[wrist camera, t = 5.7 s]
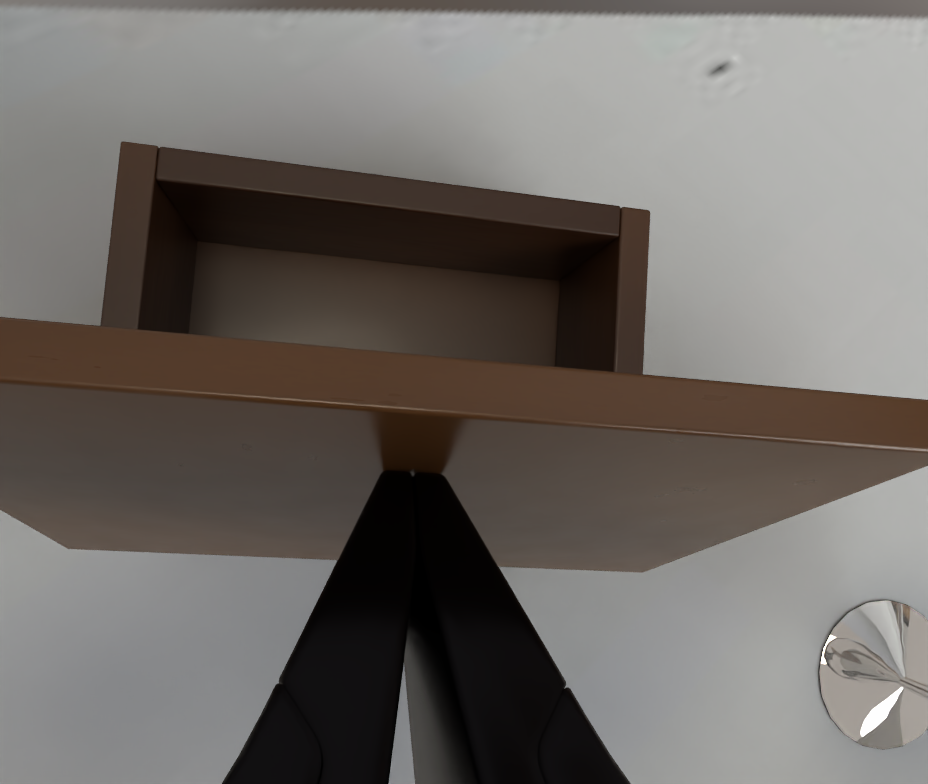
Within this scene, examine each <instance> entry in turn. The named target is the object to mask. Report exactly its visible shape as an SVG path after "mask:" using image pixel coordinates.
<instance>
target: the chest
mask: <svg viewBox="0 0 928 784" xmlns="http://www.w3.org/2000/svg"><path fill="white" fill-rule="evenodd" d="M649 226H650V211H648V210H643V209H635V208H627V207H622V208H620V207H619V206H614V205H606V204H599V203H591V202H583V201H575V200H568V199H560V198H552V197H545V196H537V195H529V194H521V193H514V192H506V191H498V190H491V189H483V188H475V187H467V186H460V185H452V184H444V183H437V182H429V181H421V180H414V179H406V178H398V177H390V176H383V175H375V174H367V173H360V172H352V171H344V170H336V169H329V168H321V167H313V166H306V165H298V164H290V163H283V162H275V161H267V160H259V159H252V158H244V157H236V156H229V155H221V154H213V153H205V152H198V151H190V150H182V149H175V148H167V147H160V148H158V147H157V146H154V145H146V144H138V143H131V142H121V147H120V156H119V165H118V174H117V183H116V192H115V201H114V210H113V219H112V228H111V237H110V246H109V255H108V264H107V273H106V282H105V291H104V300H103V309H102V318H101V326H106V327H117V328H128V329H139V330H150V331H161V332H173V333H184V334H195V335H206V336H217V337H229V338H240V339H251V340H262V341H273V342H284V343H296V344H307V345H318V346H329V347H340V348H351V349H363V350H374V351H385V352H396V353H407V354H419V355H430V356H441V357H452V358H463V359H474V360H486V361H497V362H508V363H519V364H530V365H542V366H553V367H564V368H575V369H586V370H597V371H609V372H620V373H631V374H642V375H643V355H644V333H645V312H646V290H647V269H648V248H649Z"/></svg>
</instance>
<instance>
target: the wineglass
mask: <svg viewBox="0 0 928 784" xmlns="http://www.w3.org/2000/svg"><path fill="white" fill-rule="evenodd" d="M819 674H820V683H821V693H822V697H823V700H824V702H825V705H826V707H827V710H828V712H829V715H830V717H831V718H832V720H833V721H834V722H835V723H836V724H837V726H838V727H839V728H840V729H841V731H842V732H843V733H844V734H845V735H846V736H848V737H850V738H851V739H853V740H855V741H856V742H858V743H859V744H861V745H863V746H867V747H872V748H877V749H889V748H895V747H901V746H904V745H906V744H907V743H909V742H911V741H913V740H914V739H916V738H918V737H920V736H921V735H922V734H923V733H924V732H925V731H926V730H927V728H928V621H927V619H926V618H925V617H924V616H923V615H921V614H920V613H918V612H917V611H915V610H914V609H912V608H911V607H909V606H908V605H905V604H901V603H897V602H892V601H888V600H885V601H877V602H869V603H866V604H864V605H862V606H860V607H858V608H856V609H854V610H852V611H850V612H849V613H848V614H847V615H846V616H845V617H844V618H843V619H842V620H841V621H840V622H839V623H838V624H837V625H836V626H835V627H834V628H833V630H832V632H831V634H830V636H829V639H828V641H827V643H826V645H825V647H824V649H823V654H822V660H821V666H820V671H819Z"/></svg>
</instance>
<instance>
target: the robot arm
mask: <svg viewBox="0 0 928 784" xmlns="http://www.w3.org/2000/svg"><path fill="white" fill-rule="evenodd" d="M403 664H404V666H405V677H406V688H407V699H408V710H409V721H410V732H411V742H412V753H413V764H414V775H415V784H631V783H630V782H629V781H628V779H627V778H626V776H625V775H624V773H623V772H622V771H621V769H620V768H619V766H618V765H617V763H616V762H615V761H614V759H613V758H612V756H611V755H610V753H609V752H608V750H607V749H606V747H605V745H604V744H603V742H602V741H601V739H600V737H599V736H598V734H597V733H596V731H595V729H594V728H593V726H592V725H591V723H590V721H589V720H588V718H587V717H586V715H585V713H584V712H583V710H582V708H581V706H580V705H579V703H578V701H577V700H576V698H575V696H574V694H573V693H572V691H571V689H570V688H565V686H566V681H565V680H564V678H563V676H562V674H561V673H560V671H559V669H558V668H557V666H556V664H555V662H554V661H553V659H552V657H551V656H550V654H549V652H548V651H547V649H546V647H545V645H544V644H543V642H542V640H541V639H540V637H539V635H538V633H537V632H536V630H535V628H534V627H533V625H532V623H531V622H530V620H529V618H528V616H527V615H526V613H525V611H524V610H523V608H522V606H521V604H520V603H519V601H518V599H517V598H516V596H515V594H514V592H513V591H512V589H511V587H510V586H509V584H508V582H507V581H506V579H505V577H504V575H503V574H502V572H501V570H500V569H499V567H498V565H497V563H496V562H495V560H494V558H493V557H492V555H491V553H490V552H489V550H488V548H487V546H486V545H485V543H484V541H483V540H482V538H481V536H480V534H479V533H478V531H477V529H476V528H475V526H474V524H473V523H472V521H471V519H470V517H469V516H468V514H467V512H466V511H465V509H464V507H463V505H462V504H461V502H460V500H459V499H458V497H457V495H456V494H455V492H454V490H453V488H452V487H451V485H450V483H449V482H448V480H447V478H446V477H445V476H444V475H442V474H439V473H424V472H417V473H415V474H414V475H413V476H412V474H411V473H410V472H407V471H392V470H385V471H383V472H382V473H381V474H380V476H379V478H378V480H377V482H376V484H375V486H374V488H373V490H372V492H371V494H370V496H369V498H368V500H367V502H366V504H365V506H364V508H363V510H362V512H361V514H360V516H359V518H358V520H357V522H356V524H355V526H354V528H353V530H352V532H351V534H350V536H349V538H348V541H347V543H346V545H345V547H344V549H343V551H342V553H341V555H340V557H339V559H338V561H337V563H336V565H335V567H334V569H333V571H332V573H331V575H330V577H329V579H328V581H327V583H326V585H325V587H324V589H323V591H322V593H321V595H320V597H319V599H318V601H317V603H316V605H315V607H314V609H313V611H312V613H311V615H310V617H309V619H308V621H307V623H306V625H305V627H304V630H303V632H302V634H301V636H300V638H299V640H298V642H297V644H296V646H295V648H294V650H293V652H292V654H291V656H290V658H289V660H288V662H287V664H286V666H285V668H284V670H283V672H282V674H281V676H280V678H279V684H276V685H275V687H274V689H273V691H272V693H271V695H270V697H269V699H268V701H267V703H266V705H265V707H264V709H263V711H262V713H261V715H260V717H259V719H258V721H257V723H256V725H255V726H254V728H253V730H252V732H251V734H250V736H249V738H248V740H247V741H246V743H245V745H244V747H243V749H242V751H241V753H240V754H239V756H238V758H237V759H236V761H235V763H234V764H233V766H232V768H231V769H230V771H229V773H228V774H227V776H226V777H225V779H224V781H223V782H222V784H388V782H389V774H390V766H391V758H392V750H393V743H394V735H395V727H396V719H397V711H398V703H399V695H400V687H401V680H402V672H403ZM564 688H565V689H564Z"/></svg>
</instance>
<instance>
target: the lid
mask: <svg viewBox="0 0 928 784" xmlns="http://www.w3.org/2000/svg"><path fill="white" fill-rule="evenodd" d="M925 466H928V400H922V399H911V398H899V397H888V396H877V395H866V394H855V393H843V392H832V391H821V390H810V389H799V388H788V387H776V386H765V385H754V384H743V383H732V382H720V381H709V380H698V379H687V378H676V377H665V376H653V375H642V374H631V373H620V372H609V371H597V370H586V369H575V368H564V367H553V366H542V365H530V364H519V363H508V362H497V361H486V360H474V359H463V358H452V357H441V356H430V355H419V354H407V353H396V352H385V351H374V350H363V349H351V348H340V347H329V346H318V345H307V344H296V343H284V342H273V341H262V340H251V339H240V338H229V337H217V336H206V335H195V334H184V333H173V332H161V331H150V330H139V329H128V328H117V327H106V326H94V325H83V324H72V323H61V322H50V321H38V320H27V319H16V318H5V317H0V510H2V511H3V512H5V513H7V514H9V515H10V516H12V517H14V518H16V519H17V520H19V521H21V522H23V523H24V524H26V525H28V526H29V527H31V528H33V529H35V530H36V531H38V532H40V533H42V534H43V535H45V536H47V537H49V538H50V539H52V540H54V541H56V542H57V543H59V544H61V545H62V546H64V547H66V548H68V549H84V550H108V551H132V552H156V553H181V554H205V555H229V556H254V557H278V558H302V559H326V560H338V559H339V557H340V555H341V553H342V551H343V549H344V547H345V545H346V543H347V541H348V538H349V536H350V534H351V532H352V530H353V528H354V526H355V524H356V522H357V520H358V518H359V516H360V514H361V512H362V510H363V508H364V506H365V504H366V502H367V500H368V498H369V496H370V494H371V492H372V490H373V488H374V486H375V484H376V482H377V480H378V478H379V476H380V474H381V473H382V472H383V471H385V470H392V471H407V472H410V473H411V474H412V476H413V475H414V474H415V473H417V472H424V473H439V474H442V475H444V476H445V477H446V478H447V480H448V482H449V483H450V485H451V487H452V488H453V490H454V492H455V494H456V495H457V497H458V499H459V500H460V502H461V504H462V505H463V507H464V509H465V511H466V512H467V514H468V516H469V517H470V519H471V521H472V523H473V524H474V526H475V528H476V529H477V531H478V533H479V534H480V536H481V538H482V540H483V541H484V543H485V545H486V546H487V548H488V550H489V552H490V553H491V555H492V557H493V558H494V560H495V562H496V563H497V565H498V567H521V568H545V569H569V570H594V571H618V572H645V571H648V570H650V569H653V568H656V567H658V566H661V565H664V564H666V563H669V562H672V561H674V560H677V559H680V558H682V557H685V556H688V555H690V554H693V553H696V552H698V551H701V550H704V549H706V548H709V547H712V546H714V545H717V544H720V543H722V542H725V541H728V540H730V539H733V538H736V537H738V536H741V535H744V534H746V533H749V532H752V531H754V530H757V529H760V528H762V527H765V526H768V525H770V524H773V523H776V522H778V521H781V520H784V519H786V518H789V517H792V516H795V515H797V514H800V513H803V512H805V511H808V510H811V509H813V508H816V507H819V506H821V505H824V504H827V503H829V502H832V501H835V500H837V499H840V498H843V497H845V496H848V495H851V494H853V493H856V492H859V491H861V490H864V489H867V488H869V487H872V486H875V485H877V484H880V483H883V482H885V481H888V480H891V479H893V478H896V477H899V476H901V475H904V474H907V473H909V472H912V471H915V470H917V469H920V468H923V467H925Z"/></svg>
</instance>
